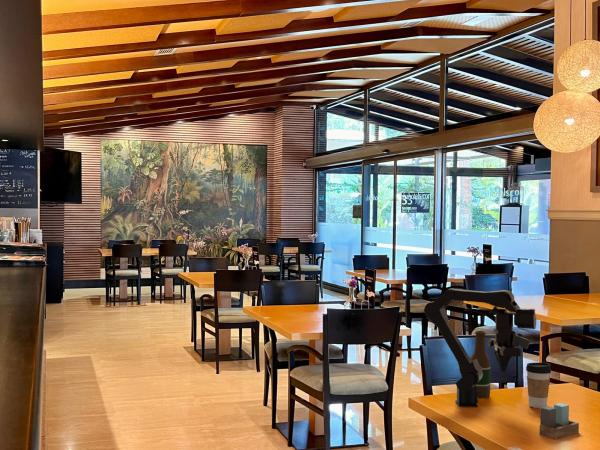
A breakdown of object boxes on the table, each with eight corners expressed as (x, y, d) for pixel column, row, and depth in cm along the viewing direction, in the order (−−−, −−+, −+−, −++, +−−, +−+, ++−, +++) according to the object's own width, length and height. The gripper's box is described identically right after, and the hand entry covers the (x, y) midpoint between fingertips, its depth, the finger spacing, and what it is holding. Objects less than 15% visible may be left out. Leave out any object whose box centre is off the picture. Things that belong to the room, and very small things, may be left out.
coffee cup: (552, 410, 230) (553, 366, 230) (526, 408, 232) (527, 365, 231) (548, 403, 238) (549, 361, 238) (523, 401, 240) (524, 360, 240)
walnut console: (539, 434, 204) (539, 424, 204) (562, 428, 210) (563, 418, 210) (555, 439, 199) (555, 429, 199) (578, 432, 206) (578, 423, 206)
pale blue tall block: (553, 429, 208) (553, 404, 208) (560, 428, 210) (560, 402, 210) (561, 432, 206) (562, 406, 206) (568, 430, 208) (569, 405, 207)
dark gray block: (540, 433, 204) (540, 407, 204) (547, 431, 206) (547, 405, 206) (548, 436, 202) (549, 409, 202) (555, 434, 204) (556, 408, 204)
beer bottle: (478, 399, 242) (479, 333, 242) (464, 394, 249) (465, 330, 249) (494, 397, 246) (495, 332, 246) (479, 392, 253) (480, 328, 252)
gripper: (537, 331, 220) (536, 378, 220) (518, 322, 239) (517, 366, 239) (503, 331, 220) (503, 378, 220) (487, 322, 239) (486, 366, 239)
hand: (503, 372), depth 229 cm, fingers closed
